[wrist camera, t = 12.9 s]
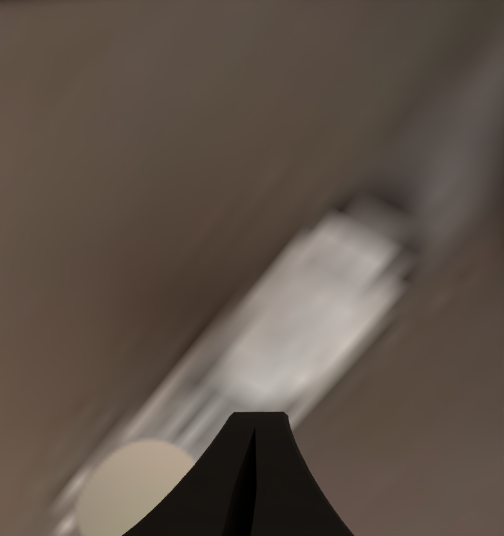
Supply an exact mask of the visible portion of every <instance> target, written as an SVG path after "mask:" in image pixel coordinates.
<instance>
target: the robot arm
mask: <svg viewBox="0 0 504 536" xmlns="http://www.w3.org/2000/svg"><path fill="white" fill-rule="evenodd" d="M122 536H354V535H353V534H352V532H351V531H350V530H349V529H348V527H347V526H346V525H345V524H344V522H343V521H342V520H341V518H340V517H339V516H338V514H337V513H336V512H335V510H334V509H333V507H332V506H331V504H330V503H329V502H328V500H327V499H326V497H325V496H324V494H323V492H322V491H321V489H320V488H319V486H318V484H317V483H316V481H315V479H314V478H313V476H312V474H311V472H310V471H309V469H308V467H307V465H306V463H305V461H304V459H303V457H302V455H301V453H300V451H299V449H298V446H297V444H296V442H295V439H294V437H293V434H292V431H291V428H290V424H289V419H288V415H286V414H285V413H284V412H234V413H233V414H232V415H231V416H230V417H229V418H228V420H227V421H226V423H225V424H224V426H223V427H222V429H221V430H220V432H219V433H218V435H217V436H216V437H215V439H214V440H213V441H212V443H211V444H210V446H209V447H208V448H207V449H206V451H205V452H204V453H203V455H202V456H201V457H200V458H199V460H198V461H197V462H196V463H195V465H194V466H193V467H192V468H191V469H190V471H189V472H188V473H187V474H186V475H185V476H184V477H183V478H182V480H181V481H180V482H179V483H178V484H177V485H176V486H175V487H174V489H173V490H172V491H171V492H170V493H169V494H168V495H167V496H166V497H165V498H164V499H163V500H162V501H161V502H160V503H159V504H158V505H157V506H156V507H155V508H154V509H153V510H152V511H151V512H149V513H148V514H147V515H146V516H145V517H144V518H143V519H142V520H141V521H140V522H138V523H137V524H136V525H135V526H134V527H133V528H131V529H130V530H129V531H127V532H126V533H125V534H123V535H122Z"/></svg>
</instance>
